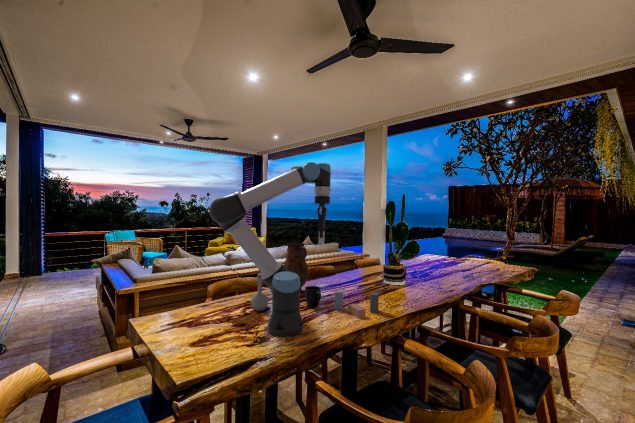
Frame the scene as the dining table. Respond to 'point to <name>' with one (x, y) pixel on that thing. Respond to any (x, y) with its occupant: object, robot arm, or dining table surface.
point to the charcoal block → (374, 302)
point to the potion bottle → (259, 297)
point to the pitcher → (297, 262)
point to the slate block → (338, 300)
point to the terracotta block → (356, 310)
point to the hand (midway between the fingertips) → (321, 244)
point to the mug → (312, 295)
